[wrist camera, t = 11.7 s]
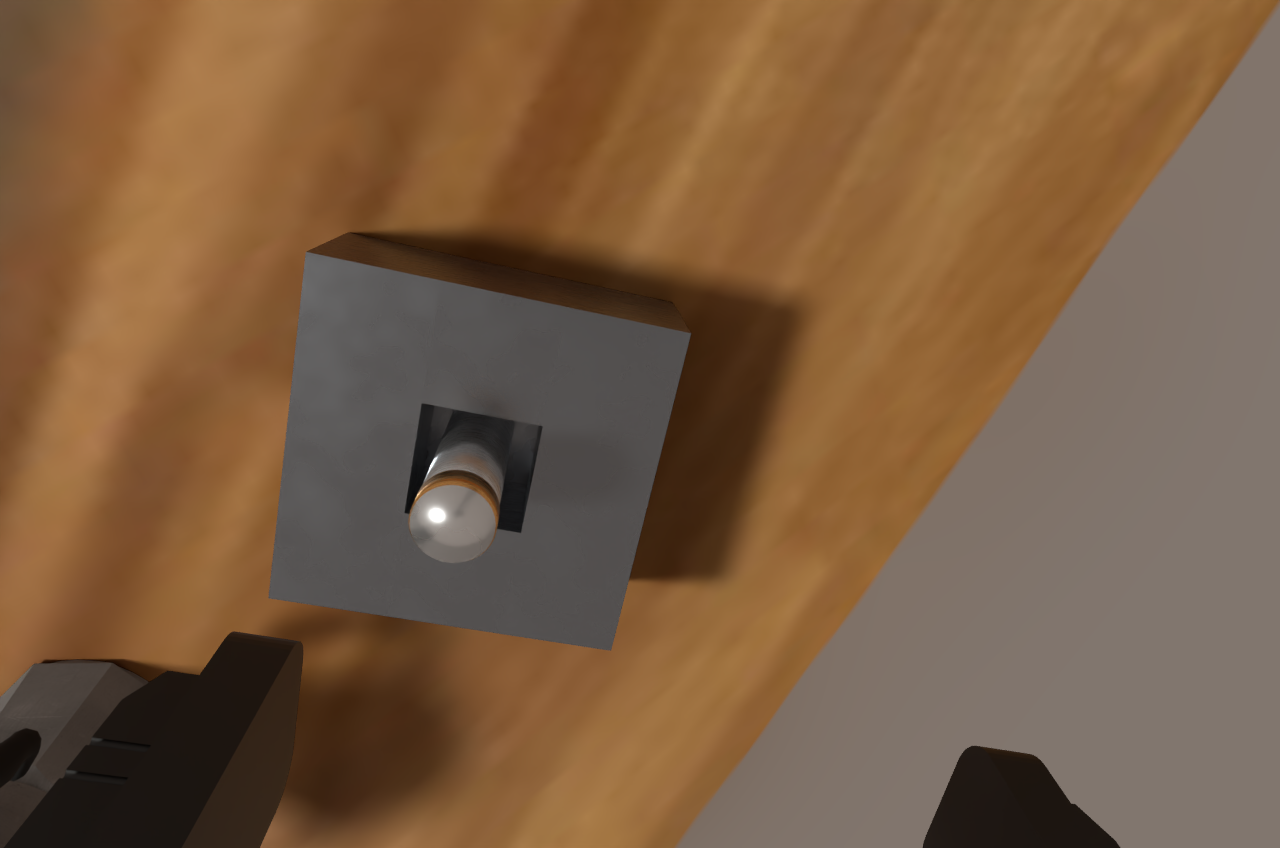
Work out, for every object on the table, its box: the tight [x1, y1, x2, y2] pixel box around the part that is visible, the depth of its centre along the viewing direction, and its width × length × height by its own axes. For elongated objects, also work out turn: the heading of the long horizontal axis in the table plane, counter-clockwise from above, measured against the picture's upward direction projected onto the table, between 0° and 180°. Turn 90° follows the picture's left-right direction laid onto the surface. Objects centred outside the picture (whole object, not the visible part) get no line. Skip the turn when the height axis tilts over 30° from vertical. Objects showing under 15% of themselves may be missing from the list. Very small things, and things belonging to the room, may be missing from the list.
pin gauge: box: [408, 409, 514, 563], centre depth 33 cm, size 3×3×10 cm
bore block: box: [269, 233, 691, 651], centre depth 36 cm, size 14×14×6 cm
